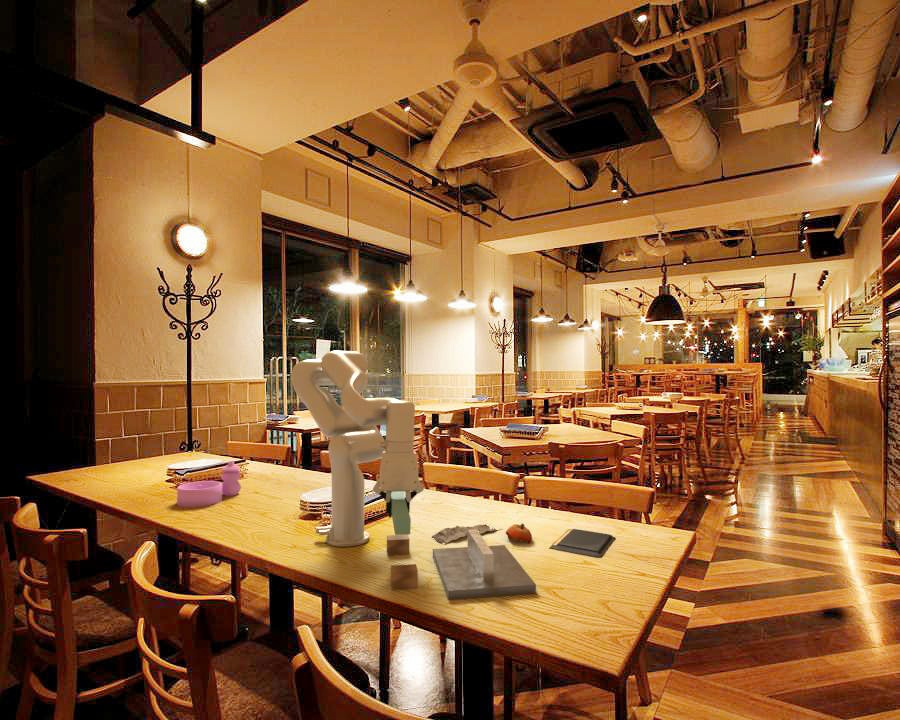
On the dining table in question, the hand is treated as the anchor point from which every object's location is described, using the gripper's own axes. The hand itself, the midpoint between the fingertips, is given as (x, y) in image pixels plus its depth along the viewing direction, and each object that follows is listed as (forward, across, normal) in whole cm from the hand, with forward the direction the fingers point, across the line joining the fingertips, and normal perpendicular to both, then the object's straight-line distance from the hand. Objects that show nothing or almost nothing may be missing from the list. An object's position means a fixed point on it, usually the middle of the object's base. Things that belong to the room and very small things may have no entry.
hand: (397, 515), depth 133 cm
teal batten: (-1, 0, -5) cm, 5 cm away
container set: (+15, -67, +74) cm, 101 cm away
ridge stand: (+11, +20, -13) cm, 26 cm away
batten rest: (+11, +1, -6) cm, 13 cm away
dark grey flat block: (+11, +55, +4) cm, 56 cm away
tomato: (+11, +37, +9) cm, 40 cm away
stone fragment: (+12, +23, +18) cm, 32 cm away
